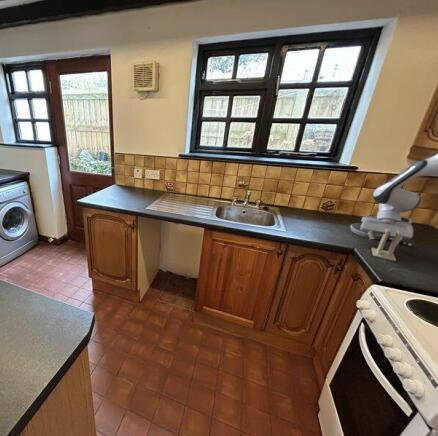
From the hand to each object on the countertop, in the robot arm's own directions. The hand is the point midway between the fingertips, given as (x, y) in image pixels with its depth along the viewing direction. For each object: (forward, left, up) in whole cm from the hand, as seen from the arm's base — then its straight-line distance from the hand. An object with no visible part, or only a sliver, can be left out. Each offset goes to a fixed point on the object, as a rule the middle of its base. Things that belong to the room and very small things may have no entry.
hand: (383, 241), depth 127 cm
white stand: (0, +9, -4) cm, 10 cm away
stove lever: (0, +5, +3) cm, 6 cm away
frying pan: (-1, -19, -4) cm, 19 cm away
